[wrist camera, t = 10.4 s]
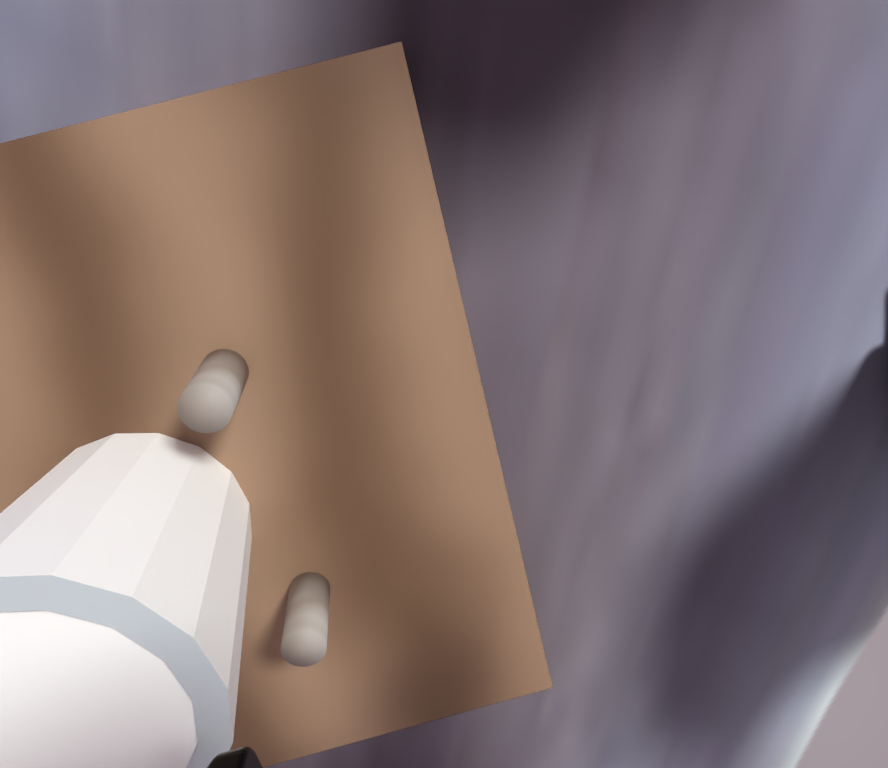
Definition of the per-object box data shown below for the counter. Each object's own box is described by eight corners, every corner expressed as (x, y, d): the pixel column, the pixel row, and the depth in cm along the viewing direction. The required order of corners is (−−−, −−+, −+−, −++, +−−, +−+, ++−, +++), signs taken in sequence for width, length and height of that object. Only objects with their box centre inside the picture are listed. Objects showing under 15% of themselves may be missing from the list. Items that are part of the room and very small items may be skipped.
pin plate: (398, 45, 16) (408, 27, 13) (545, 665, 24) (574, 751, 21) (-432, 257, 16) (-636, 293, 13) (-16, 819, 23) (-75, 932, 20)
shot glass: (321, 489, 19) (302, 679, 13) (199, 656, 21) (126, 900, 14) (87, 361, 17) (-78, 509, 11) (-29, 557, 19) (-235, 791, 12)
